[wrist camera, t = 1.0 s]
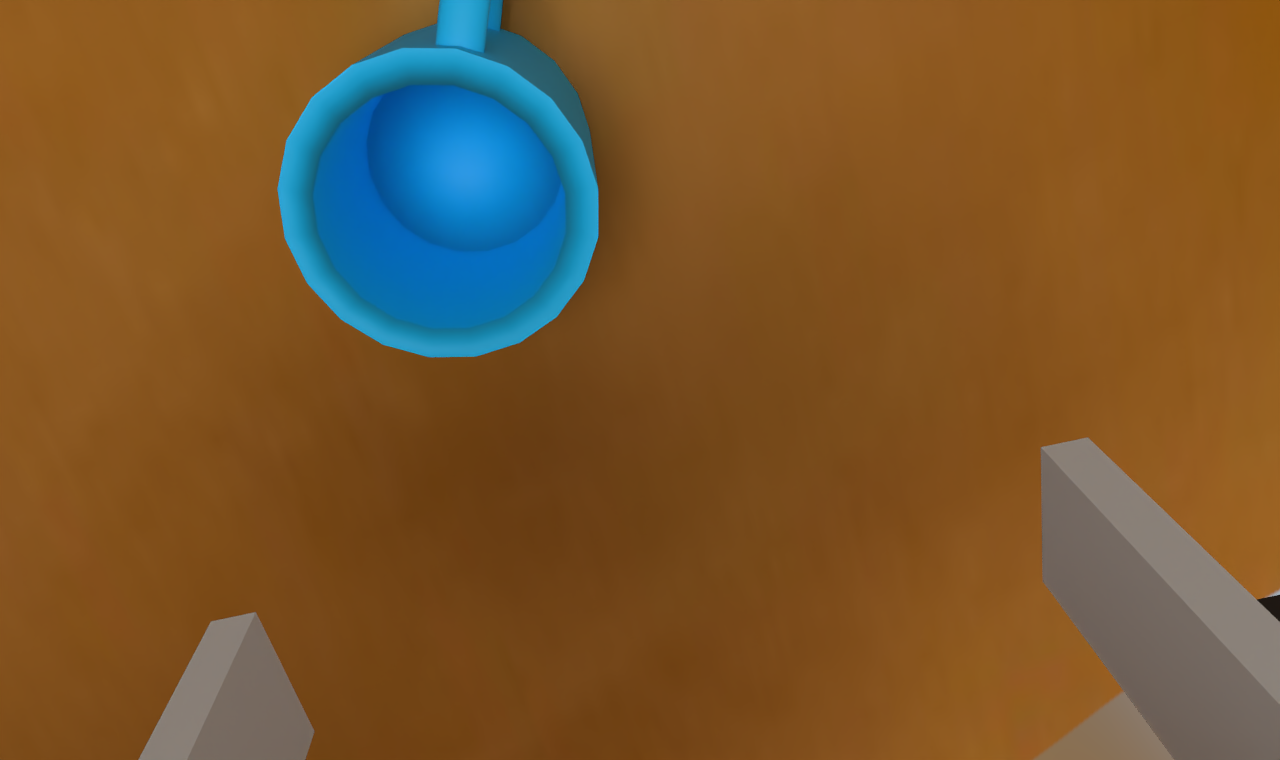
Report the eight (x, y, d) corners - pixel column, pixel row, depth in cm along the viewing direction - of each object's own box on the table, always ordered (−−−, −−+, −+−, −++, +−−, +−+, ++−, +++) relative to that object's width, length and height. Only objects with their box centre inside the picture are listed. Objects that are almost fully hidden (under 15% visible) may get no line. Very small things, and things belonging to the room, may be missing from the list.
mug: (573, 280, 33) (576, 375, 26) (341, 247, 32) (275, 337, 25) (628, -86, 29) (651, -95, 21) (357, -139, 27) (282, -170, 20)
